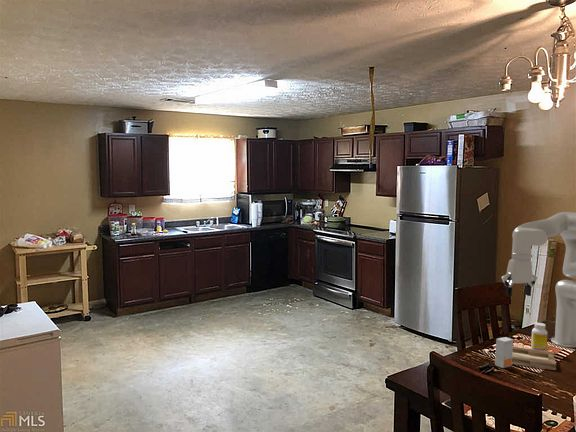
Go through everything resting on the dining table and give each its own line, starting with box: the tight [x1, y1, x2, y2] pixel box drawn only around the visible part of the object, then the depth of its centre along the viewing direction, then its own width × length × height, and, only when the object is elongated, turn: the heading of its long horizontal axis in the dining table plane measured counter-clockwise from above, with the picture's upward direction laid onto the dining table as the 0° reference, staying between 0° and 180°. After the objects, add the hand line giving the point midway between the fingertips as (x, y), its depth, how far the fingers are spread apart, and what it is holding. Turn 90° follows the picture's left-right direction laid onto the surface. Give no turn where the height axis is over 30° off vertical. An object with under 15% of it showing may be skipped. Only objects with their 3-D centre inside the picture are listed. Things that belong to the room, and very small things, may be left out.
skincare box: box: [494, 336, 514, 369], centre depth 212 cm, size 6×4×12 cm
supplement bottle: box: [530, 322, 548, 351], centre depth 231 cm, size 7×7×13 cm
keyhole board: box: [512, 346, 557, 371], centre depth 219 cm, size 16×20×2 cm
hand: (518, 295), depth 215 cm, fingers open, 9 cm apart
